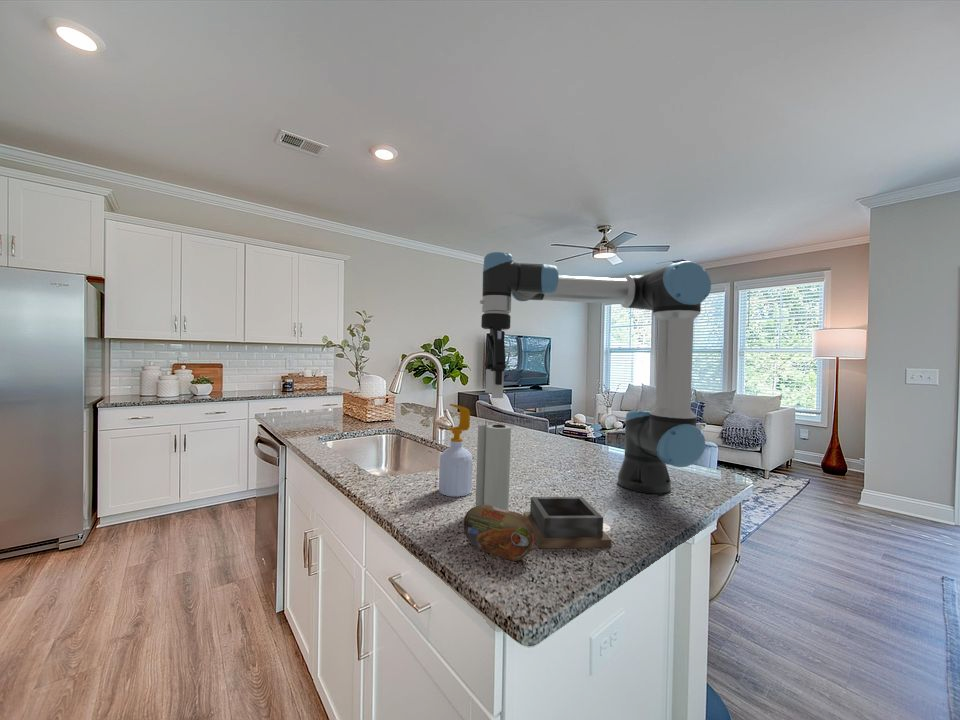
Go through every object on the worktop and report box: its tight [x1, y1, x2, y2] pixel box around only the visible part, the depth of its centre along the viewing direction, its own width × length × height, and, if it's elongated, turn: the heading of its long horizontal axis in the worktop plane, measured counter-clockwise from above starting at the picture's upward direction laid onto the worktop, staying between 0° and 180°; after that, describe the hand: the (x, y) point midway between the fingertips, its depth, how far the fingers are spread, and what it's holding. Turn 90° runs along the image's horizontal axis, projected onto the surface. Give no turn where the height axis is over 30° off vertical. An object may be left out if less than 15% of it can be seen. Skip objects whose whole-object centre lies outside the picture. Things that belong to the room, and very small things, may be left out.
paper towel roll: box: [475, 424, 512, 511], centre depth 98 cm, size 7×6×21 cm
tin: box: [463, 505, 536, 562], centre depth 78 cm, size 15×3×8 cm, turn 56°
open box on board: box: [523, 496, 612, 549], centre depth 88 cm, size 15×15×6 cm
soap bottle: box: [438, 403, 473, 498], centre depth 112 cm, size 9×9×25 cm
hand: (493, 395), depth 104 cm, fingers open, 13 cm apart
